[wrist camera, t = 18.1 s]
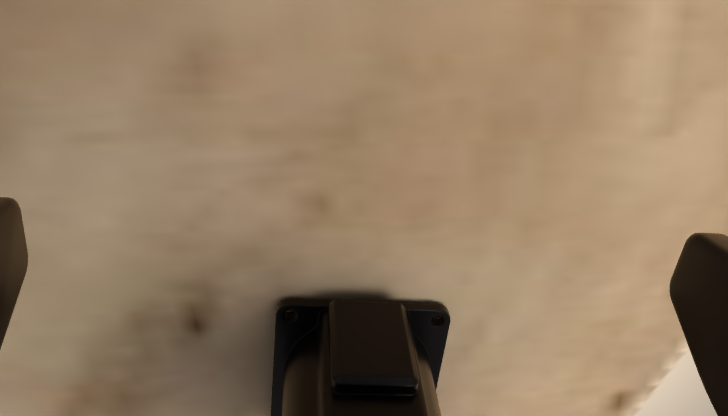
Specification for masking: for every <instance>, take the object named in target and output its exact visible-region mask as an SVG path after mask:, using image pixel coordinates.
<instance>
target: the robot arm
mask: <svg viewBox="0 0 728 416" xmlns="http://www.w3.org/2000/svg"><path fill="white" fill-rule="evenodd" d="M27 265H28V252H27V245H26V239H25V233H24V227H23V221H22V215H21V210H20V207H19V205H18V203H17V202H16V201H15V200H14V199H12V198H5V197H0V349H1V346H2V343H3V340H4V337H5V334H6V331H7V328H8V325H9V322H10V319H11V316H12V313H13V310H14V307H15V304H16V301H17V298H18V295H19V292H20V289H21V286H22V283H23V280H24V277H25V274H26V271H27ZM670 296H671V300H672V303H673V305H674V308H675V311H676V314H677V316H678V319H679V322H680V324H681V327H682V330H683V332H684V335H685V338H686V341H687V343H688V346H689V349H690V351H691V354H692V357H693V359H694V362H695V365H696V367H697V370H698V373H699V375H700V378H701V380H702V383H703V385H704V387H705V390H706V392H707V394H708V396H709V398H710V401H711V403H712V405H713V407H714V409H715V411H716V413H717V415H718V416H728V236H726V235H723V234H715V233H695V234H693V235H691V236H690V237H689V238H688V239H687V241H686V243H685V245H684V248H683V250H682V253H681V255H680V258H679V260H678V263H677V265H676V268H675V270H674V273H673V276H672V278H671V282H670ZM289 310H291V311H294V312H295V313H294V314H286V313H285V312H286V311H289ZM434 316H441V317H440V318H439V319H435V320H434V319H432V318H433V317H434ZM449 325H450V316H449V312H448V310H447V308H446V307H445V306H443V305H441V304H429V303H403V302H383V301H357V300H324V299H298V298H289V299H284V300H282V301H280V303H279V304H278V305H277V309H276V327H275V347H274V366H273V386H272V405H271V416H441V413H440V408H439V403H438V399H437V394H436V387H437V382H438V377H439V373H440V368H441V363H442V358H443V354H444V349H445V344H446V339H447V334H448V330H449Z"/></svg>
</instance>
